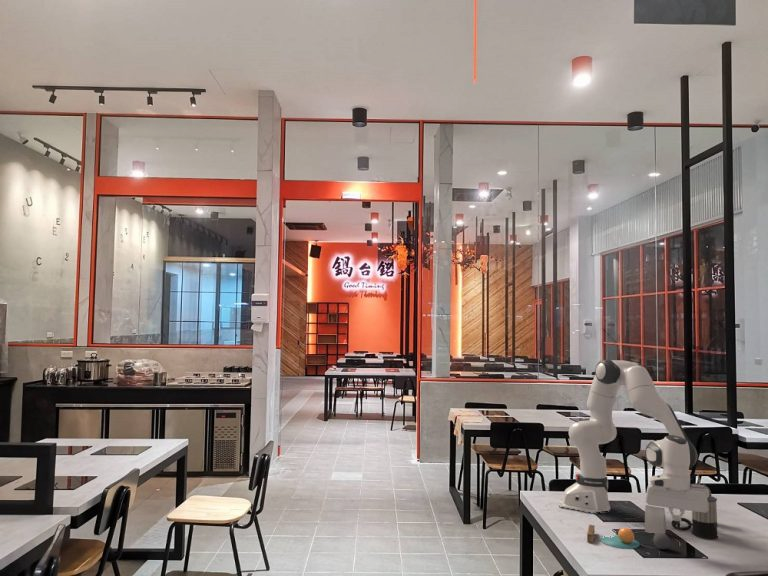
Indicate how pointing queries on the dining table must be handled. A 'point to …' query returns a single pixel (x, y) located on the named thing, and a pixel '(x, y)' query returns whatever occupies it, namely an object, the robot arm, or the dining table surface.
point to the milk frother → (702, 522)
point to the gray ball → (661, 540)
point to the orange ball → (626, 535)
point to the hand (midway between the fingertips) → (676, 520)
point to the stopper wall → (590, 533)
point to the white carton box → (654, 520)
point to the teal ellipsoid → (619, 542)
